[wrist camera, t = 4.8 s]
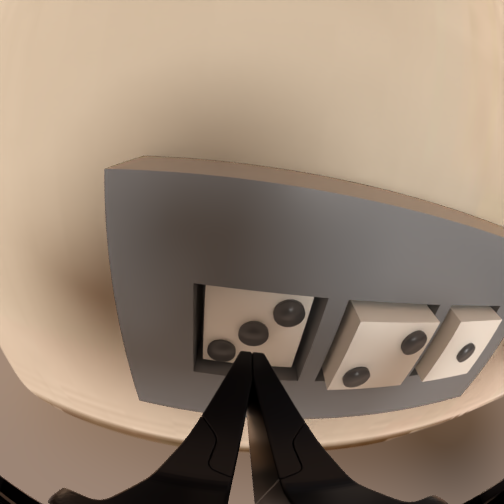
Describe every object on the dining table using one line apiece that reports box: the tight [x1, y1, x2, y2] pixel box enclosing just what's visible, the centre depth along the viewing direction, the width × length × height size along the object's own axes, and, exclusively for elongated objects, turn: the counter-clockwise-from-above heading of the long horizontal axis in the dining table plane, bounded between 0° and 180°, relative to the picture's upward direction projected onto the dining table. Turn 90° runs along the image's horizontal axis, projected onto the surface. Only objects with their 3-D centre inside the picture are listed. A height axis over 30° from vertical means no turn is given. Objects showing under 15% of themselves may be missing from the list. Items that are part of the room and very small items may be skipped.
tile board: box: [105, 156, 504, 419], centre depth 12 cm, size 22×12×3 cm, turn 82°
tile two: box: [322, 300, 440, 390], centre depth 11 cm, size 4×4×2 cm
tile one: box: [415, 305, 502, 382], centre depth 11 cm, size 4×4×2 cm
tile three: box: [203, 285, 314, 367], centre depth 11 cm, size 4×4×2 cm
